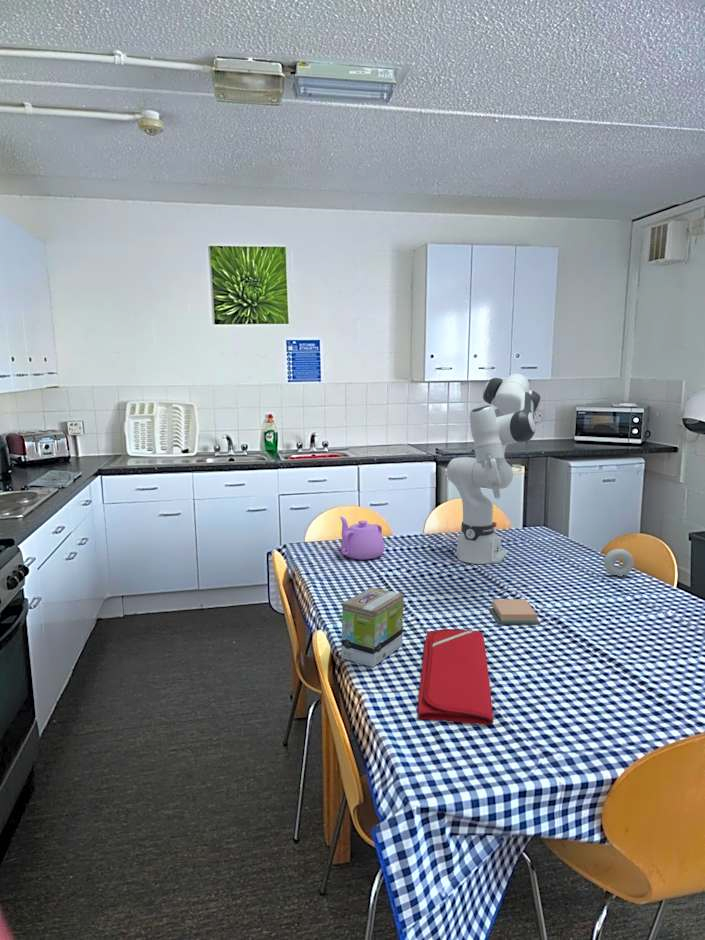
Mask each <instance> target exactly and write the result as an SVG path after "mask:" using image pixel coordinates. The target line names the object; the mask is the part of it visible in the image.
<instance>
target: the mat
mask: <svg viewBox="0 0 705 940" xmlns="http://www.w3.org/2000/svg"><path fill="white" fill-rule="evenodd" d="M489 612H490V614H491V615H492V617H493V619H494V621H495V623H496V624H497V625H541V624H540V621H539V619H538V618H537V622H509V623H501V621H500V619H499V617H498V616H497V614H496V612H495V611H494V609H493V607H489Z"/></svg>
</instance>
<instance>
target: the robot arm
mask: <svg viewBox="0 0 705 940" xmlns="http://www.w3.org/2000/svg"><path fill="white" fill-rule="evenodd" d="M482 398H483V401H484V402H486V404H489V405H484V406H481V407H476V408H473V409H472V410H470V411H469V424H470V431H471V432H470V433H471V437H472V440H473V442H474V444H473V446H474V447H473V448H474V449H473V450H474V454H475V457H468V456H462V457H461V456H460V457H455V458H454V457H453V458H452V459H451V460H450V461H449V462H448V464H447V467H446V477H447V478H448V480H449V482H451V483H452V484H453V485H454V487H455V488H456V489H457V491H458V493H459V495H460V499H461V503H462V521H461V525H460V529H461V531H460V532H461V533H459V534H458V535H457V536H458V537H457V547H456V551H454V552H453V555H454V556H455V557H457V560H459V561H461V562H463V563H464V562H465V563H468V564H473V565H474V564H475V565H486V564H487V565H488V564H500V563H501V561H503V560H504V558H505V557H506V556H507V555H508V551H507V550H505V549H503V548H502V539H501V538H500V537H499V536H498V535H497V534H496V533H495V528H496V527H497V522H496V521H493V517H494V516H493V515H494V514H493V512H494V511H493V509H494V508H493V507H494V506H493V502H492V501H491V500H490V499H489V498H488V497H486V496H485V495H484V494H483V492H482V490H481V489H488V490H492V492H493V498H494V499H495V500H496V499H500V498H501V493H500V491H501V489H502V490H504V489H506V488H508V487H509V486H510V485H511V483H512V482H513V477H514V472H513V469H512V466H511V464H509V462H507V461H506V458H505V452H506V449H507V446H508V445H510V444H515V443H521V442H523V443H524V442H529V441H531V439H532V438H533V437H534V435H535V433H536V424H535V415H536V414H537V412H538V411H539V409H540V407H541V395H540V394H539V393H538V392H536V391H535V390H531V389H530V383H529V380H528V378H527V377H526V376H525V375H523V374H521V373H512V374H510V375H508V376H507V377H505V379H502V377H501V378H499V377H494V378H490V379H489V380H488V381H487V382H486V384H485V385H484V387H483V391H482ZM494 407H495V409H494Z"/></svg>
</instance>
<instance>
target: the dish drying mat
mask: <svg viewBox="0 0 705 940" xmlns="http://www.w3.org/2000/svg"><path fill="white" fill-rule="evenodd" d="M423 645H424V646H423V654H422V655H423V657H422V662H421V663H422V664H421V677H420V683H419V690H418V701H417V718H418V719H419V720H429V721H439V720H442V722H444V721H443V720H446V721H445V722H451V721H454V722H455V723H461V722H465V723H464V724H472V723H478V724H477V725H482V724H484V725H485V726H491V725H493V724H494V711H493V705H492V694H491V692H492V691H491V683H490V681H491V680H490V677H489V667H488V660H487V652H486V644H485V639H484V634H483V632H482V631H479V630H471V629H456V628H452V629H451V628H443V629H438V630H435V631H434V630H430V631H427V633H426V637H425V642H424V644H423ZM454 722H453V723H454ZM469 722H471V723H469ZM484 725H483V726H484Z"/></svg>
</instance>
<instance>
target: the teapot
mask: <svg viewBox="0 0 705 940" xmlns="http://www.w3.org/2000/svg"><path fill="white" fill-rule="evenodd" d="M339 518H340V520H341V523H342V525H341V528H342V529H341V544H340V551H341V552H340V553H341V554H342V555H345V557H347V558H349V559H353V560H355V559H356V560H361V561H365V560H370V559H377V558H379V557H380V556H382V554H383V553H384V552H385V550H386V546H385V545H386V544H385V541H384V538H383V535H382V534H383V527H382V526H381V525H380V524H378V523H375V524H372V523H371V524H370V523H368V520H358V523H354V524H352V525H350V526H348V525H349V524H348V521H347V519H346V518H345V517H344V516H339Z"/></svg>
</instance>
